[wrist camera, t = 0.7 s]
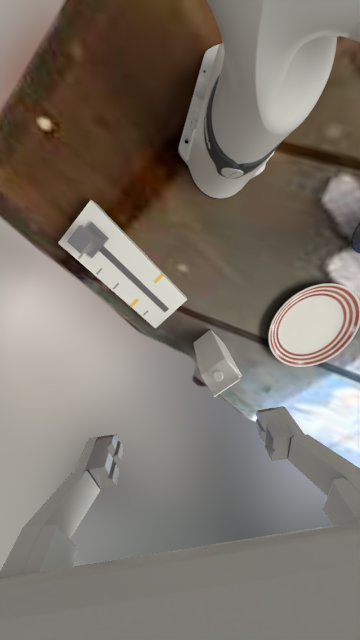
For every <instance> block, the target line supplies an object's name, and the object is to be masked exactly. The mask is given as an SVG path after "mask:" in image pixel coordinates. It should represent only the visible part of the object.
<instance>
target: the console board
mask: <svg viewBox="0 0 360 640" xmlns="http://www.w3.org/2000/svg"><path fill="white" fill-rule="evenodd" d="M91 222H93V223H94V224H95V225H96V226H97V227H98V228H99V229H100V230H101V231H102V232H103V233H104V234H105V235H106V236H107V237H108V238H109V239H108V240H107V242H106V243H105V244H104V245H103V246H102V247H101V249H100V250H99V251H98V252H97V253H96V255H95V256H94V257H93V258H91V257H90V256H89V255H88V254H87V253H83V254H80V253H79V252H78V251H77V250H76V249H75V248H73V247H72V246H71V245H70V244H69V243H68V242H67V241H68V239H69V238H70V237H71V236H72V234H73V233H74V232H75V230H76V229H77V228H78V226H84V227H88V226H89V224H90V223H91ZM58 243H59V244H60V245H61V246H62V247H63V248H64V249H65V250H67V251H68V252H69V253H70V254H71V255H72V256H73V257H75V258H76V259H77V260H78V261H79V262H80V263H81V264H83V265H84V266H85V267H86V268H87V269H88V270H89V271H91V272H92V273H93V274H94V275H95V276H96V277H97V278H99V279H100V280H101V281H102V282H103V283H104V284H105V285H107V286H108V287H109V288H110V289H111V290H112V291H113V292H115V293H116V294H117V295H118V296H119V297H120V298H121V299H122V300H124V301H125V302H126V303H127V304H128V305H129V306H130V307H132V308H133V309H134V310H135V311H136V312H137V313H138V314H140V315H141V316H142V317H143V318H144V319H145V320H146V321H148V322H149V323H150V324H151V325H152V326H153V327H154V328H156V327H158V326H159V325H160V324H161V323H162V322H163V321H164V320H165V319H166V318H167V317H169V316H170V315H171V314H172V313H173V312H174V311H175V310H176V309H177V308H178V307H179V306H181V305H182V304H183V303H184V302H185V301H186V300H187V298H186V296H185V295H184V294H183V293H182V292H181V291H180V290H179V289H178V288H177V287H176V285H175V284H174V283H173V282H172V281H171V280H170V279H169V278H168V277H167V276H166V275H165V274H164V273H163V272H162V271H161V270H160V269H159V268H158V267H157V266H156V265H155V264H154V263H153V262H152V261H151V260H150V258H149V257H148V256H147V255H146V254H145V253H144V252H143V251H142V250H141V249H140V248H139V247H138V246H137V245H136V244H135V243H134V242H133V241H132V240H131V239H130V238H129V237H128V236H127V235H126V234H125V233H124V231H123V230H122V229H121V228H120V227H119V226H118V225H117V224H116V223H115V222H114V221H113V220H112V219H111V218H110V217H109V216H108V215H107V214H106V213H105V212H104V211H103V210H102V209H101V208H100V207H99V206H98V204H97V203H95V202H93V201H92V200H90V202H89V203H88V204H87V205H86V207H85V208H84V209H83V211H82V212H81V213H80V215H79V216H78V217H77V219H76V220H75V221H74V223H73V224H72V225H71V226H70V228H69V229H68V230H67V232H66V233H65V234H64V236H63V237H62V238H61V240H60V241H59V242H58Z"/></svg>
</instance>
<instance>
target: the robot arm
mask: <svg viewBox="0 0 360 640" xmlns="http://www.w3.org/2000/svg"><path fill="white" fill-rule="evenodd" d="M206 1H207V3H208V5H209V7H210V9H211V11H212V13H213V15H214V18H215V20H216V23H217V25H218V28H219V31H220V34H221V37H222V41H223V43H221V44H219V45H216V46H213V47H211V48H210V49H208V50H207V51H206V52H205V55H204V58H203V61H202V64H201V68H200V72H199V75H198V79H197V82H196V86H195V90H194V93H193V97H192V101H191V104H190V108H189V111H188V115H187V119H186V122H185V126H184V129H183V133H182V137H181V140H180V144H179V148H178V151H179V154H180V156H181V157H182V159H183V160H184V161H185V162H186V164H187V165H188V167H189V169H190V172H191V175H192V178H193V180H194V182H195V183H196V185H197V186H198V188H199V189H200V190H201V191H202V192H204V193H205V194H206V195H208V196H210V197H214V198H226V197H230V196H232V195H234V194H236V193H237V192H238V191H240V190H241V189H242V188H243V187H244V185H245V184H246V183H247V182H248V181H249V180H250V179H251V178H253V177H255V176H257V175H259V174H260V173H261V172H262V171H263V170H264V168H265V165H266V162H267V161H268V160H269V158H270V157H271V156H272V155H273V153H274V151H275V150H276V148H277V147H278V145H279V144H280V142H281V141H282V140H284V139H285V138H286V137H287V136H288V135H289V134H290V133H291V132H292V131H293V130H294V129H296V128H297V127H298V126H299V125H300V124H301V123H302V122H303V121H304V120H305V119H306V117H307V116H308V115H309V113H310V112H311V110H312V109H313V107H314V106H315V104H316V102H317V100H318V99H319V97H320V95H321V93H322V91H323V89H324V87H325V85H326V82H327V80H328V77H329V75H330V72H331V69H332V65H333V61H334V56H335V51H336V43H337V37H338V36H342V37H346V38H349V39H352V40H355V41H359V42H360V0H206ZM185 140H187V141H188V144H186V143H185ZM256 416H257V418H258V419H257V420H256V426H257V430H258V433H259V435H260V437H261V439H262V440H263V441H265V448H266V450H267V452H268V454H269V456H270V458H271V460H272V461H274V460H282V459H288V460H289V461H290V462H291V463H292V464H293V465H294V466H295V467H296V468H298V469H299V470H300V471H301V472H302V473H303V474H304V475H305V476H306V477H307V478H308V479H310V480H311V481H312V482H313V483H314V484H315V485H316V486H317V487H318V488H320V490H321V491H323V492H324V493H325V494H326V495H327V499H326V502H325V504H324V508H323V510H324V512H325V514H326V515H327V517H328V519H329V521H330V522H331V524H332V526H327V527H321V528H314V529H308V530H302V531H295V532H289V533H283V534H276V535H270V536H264V537H257V538H252V539H245V540H239V541H233V542H226V543H219V544H213V545H207V546H200V547H194V548H188V549H182V550H175V551H169V552H163V553H156V554H150V555H143V556H137V557H131V558H124V559H118V560H112V561H105V562H100V563H93V564H86V565H80V566H74V567H73V564H74V561H75V557H76V554H77V550H78V547H77V545H76V544H75V543H74V542H73V541H72V540H71V539H70V538H71V536H72V535H73V533H74V531H75V530H76V528H77V527H78V525H79V524H80V522H81V520H82V519H83V517H84V516H85V514H86V512H87V511H88V509H89V508H90V506H91V504H92V503H93V501H94V500H95V498H96V496H97V495H98V493H99V492H100V489H103V488H108V487H113V486H116V484H117V479H118V475H119V469H118V465H119V464H120V463H121V461H122V455H123V447H122V444H121V442H119V441H118V436H117V434H114V435H107V436H101V437H94V438H89V440H88V441H87V443H86V445H85V448H84V450H83V453H82V455H81V457H80V460H79V463H78V465H77V467H76V469H75V472H74V473H71V474H70V475H69V476H68V478H67V479H66V480H65V481H64V482H63V483H62V485H61V486H60V487H59V488H58V489H57V490H56V491H55V492H54V493H53V494H52V496H51V497H50V498H49V499H48V500H47V501H46V502H45V503H44V505H43V506H42V507H41V508H40V509H39V510H38V511H37V512H36V514H35V515H34V516H33V517H32V518H31V519H30V520H29V521H28V523H27V524H26V525H25V526H24V527H23V528H22V530H21V532H20V534H19V536H18V538H17V540H16V542H15V544H14V546H13V548H12V550H11V552H10V554H9V556H8V558H7V560H6V562H5V563H4V565H3V567H2V570H1V571H0V640H360V468H358V467H357V466H355V465H354V464H352V463H351V462H349V461H348V460H346V459H344V458H343V457H341V456H340V455H338V454H337V453H335V452H334V451H332V450H331V449H329V448H328V447H326V446H325V445H323V444H321V443H320V442H318V441H317V440H315V439H314V438H312V437H311V436H309V435H305V434H304V433H303V432H302V430H301V429H300V427H299V426H298V425H297V423H296V422H295V420H294V419H293V418H292V416H291V415H290V413H289V412H288V411H287V409H286V408H285V407H283V406H282V407H276V408H269V409H264V410H258V411H257V412H256Z"/></svg>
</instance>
